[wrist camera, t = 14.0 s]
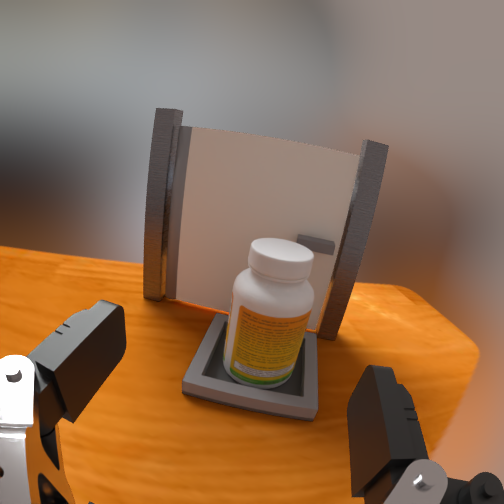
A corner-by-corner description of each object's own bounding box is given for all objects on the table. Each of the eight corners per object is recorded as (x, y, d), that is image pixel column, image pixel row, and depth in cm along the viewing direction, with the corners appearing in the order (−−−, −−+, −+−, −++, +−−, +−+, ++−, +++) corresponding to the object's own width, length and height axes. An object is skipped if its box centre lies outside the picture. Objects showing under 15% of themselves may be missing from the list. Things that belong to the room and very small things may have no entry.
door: (157, 303, 28) (170, 124, 22) (169, 289, 30) (183, 126, 25) (315, 339, 26) (363, 156, 21) (314, 322, 29) (356, 155, 23)
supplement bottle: (305, 380, 21) (343, 264, 18) (240, 399, 19) (266, 269, 15) (270, 340, 26) (294, 233, 22) (212, 350, 23) (226, 233, 20)
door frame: (143, 297, 29) (156, 108, 23) (151, 289, 31) (165, 109, 24) (334, 340, 27) (388, 145, 21) (333, 330, 29) (382, 145, 23)
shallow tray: (182, 393, 19) (182, 380, 18) (215, 324, 27) (216, 312, 27) (312, 421, 18) (318, 409, 17) (312, 345, 26) (316, 333, 26)
